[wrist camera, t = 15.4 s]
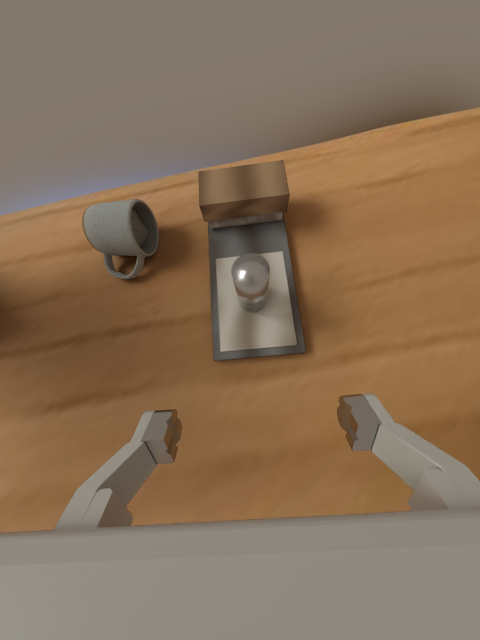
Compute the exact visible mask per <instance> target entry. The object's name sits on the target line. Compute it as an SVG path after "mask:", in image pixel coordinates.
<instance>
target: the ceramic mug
mask: <svg viewBox="0 0 480 640" xmlns="http://www.w3.org/2000/svg"><path fill="white" fill-rule="evenodd" d="M82 227H83V231H84V233H85V236H86V238H87V240H88V241H89V243H90V244H91V245H92V246H93V247H94V248H95V249H96V250H98V251H99V252H102V253H104V263H105V266H106V268H107V270H108V271H109V272H110V273H111V274H112V275H113V276H115V277H117V278H120V279H133V278H135V277H137V276H138V275H139V274H140V273H141V271H142V269H143V265H144V258H145V256H151V255H153V254H154V253H155V252H156V250H157V247H158V243H159V232H158V226H157V222H156V220H155V217H154V215H153V213H152V211H151V209H150V208H149V206H148V205H147V204H146V203H145V202H143V201H141V200H138V199H133V200H125V201H116V202H106V203H98V204H95V205H92V206H90V207H88V208H87V209H86V210H85V212H84V214H83V217H82ZM112 255H126V256H137V261H136V265H135V268H134V270H133V271H132V272H131V273H130V274H129V275H127V274H122V273H121V272H117V271H116V270H115V268H114V265H113V262H112Z"/></svg>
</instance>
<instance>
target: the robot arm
mask: <svg viewBox="0 0 480 640" xmlns="http://www.w3.org/2000/svg"><path fill="white" fill-rule="evenodd" d="M339 403H340V406H339V407H338V408H337V416H338V420H339V423H340V425H341V428H343V429H344V430H345V431H346V439H347V441H348V443H349V445H350V447H351V449H352V451H361V450H372V452H373V453H374V454H375V455H376V456H377V457H378V458H379V459H381V460H382V461H383V462H384V463H385V464H386V465H387V466H388V467H389V468H390V469H391V470H392V471H394V472H395V473H396V474H397V475H398V476H399V477H400V478H401V479H402V480H403V481H404V482H406V483H407V484H408V485H409V486H410V487H411V488H412V489H413V490H414V491H413V493H412V494H411V496H410V498H409V500H408V505H409V507H410V508H411V510H412V511H403V512H384V513H365V514H345V515H326V516H307V517H288V518H268V519H249V520H230V521H211V522H192V523H173V524H154V525H135V526H131V523H132V520H133V516H132V514H131V513H130V511H129V510H128V509H127V508H126V506H127V504H128V503H129V502H130V500H131V499H132V498H133V496H134V495H135V494H136V492H137V491H138V490H139V488H140V487H141V486H142V485H143V483H144V482H145V481H146V479H147V478H148V477H149V475H150V474H151V473H152V471H153V470H154V469H155V467H156V466H157V465H156V464H166V463H174V461H175V457H176V454H177V450H178V448H177V445H176V443H177V442H178V441H179V440H180V438H181V432H182V425H181V421H180V419H178V418H177V415H178V413H177V411H176V409H173V410H154V411H145V412H144V414H143V415H142V417H141V420H140V422H139V424H138V426H137V428H136V430H135V433H134V435H133V437H132V439H131V441H130V443H126V444H125V445H124V446H123V447H122V448H121V449H120V450H119V451H118V452H117V453H116V454H114V455H113V456H112V457H111V458H110V459H109V460H108V461H107V462H106V463H105V464H104V465H103V466H101V467H100V468H99V469H98V470H97V471H96V472H95V473H94V474H93V475H92V476H91V477H90V478H88V479H87V480H86V481H85V482H84V483H83V484H82V485H81V486H80V487H79V488H78V489H77V490H76V492H75V493H74V495H73V497H72V499H71V500H70V502H69V504H68V506H67V507H66V509H65V511H64V513H63V514H62V516H61V518H60V520H59V521H58V523H57V525H56V527H55V528H54V530H40V531H21V532H2V533H0V640H480V481H479V480H478V479H477V478H476V477H475V475H474V474H473V473H472V472H471V471H470V470H469V468H468V467H467V466H466V465H464V464H463V463H461V462H459V461H458V460H456V459H455V458H453V457H452V456H450V455H448V454H447V453H445V452H444V451H442V450H441V449H439V448H437V447H436V446H434V445H433V444H431V443H429V442H428V441H426V440H425V439H423V438H422V437H420V436H418V435H417V434H415V433H414V432H412V431H411V430H409V429H407V428H406V427H404V426H403V425H401V424H399V423H395V422H394V420H393V419H392V418H391V416H390V415H389V413H388V412H387V411H386V409H385V408H384V407H383V405H382V404H381V402H380V401H379V400H378V398H377V397H376V395H375V394H373V393H369V394H355V395H344V396H340V397H339Z"/></svg>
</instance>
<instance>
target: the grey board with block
mask: <svg viewBox="0 0 480 640" xmlns="http://www.w3.org/2000/svg"><path fill="white" fill-rule="evenodd" d="M288 200H289V188H288V183H287V177H286V172H285V166H284V161H283V160H281V161H273V162H266V163H259V164H252V165H244V166H237V167H230V168H223V169H215V170H208V171H201V172H199V206H200V209H201V212H202V215H203V218H204V221H205V222H207V221H208V235H209V259H210V284H211V309H212V333H213V358H214V361H222V360H233V359H245V358H256V357H268V356H279V355H291V354H303V353H305V352H306V350H305V344H304V338H303V332H302V326H301V320H300V314H299V307H298V301H297V295H296V289H295V283H294V277H293V271H292V265H291V259H290V253H289V247H288V241H287V235H286V229H285V223H284V217H283V212H287V206H288ZM248 253H255V254H259V255H261V256H263V257H264V258H265V259H266V260H267V262H268V263H269V266H270V275H269V284H268V294H267V302H266V305H265V306H264V308H263V309H261V310H260V311H258V312H247V311H245V310H243V309H242V308H241V306H240V305H239V302H238V298H237V294H236V290H235V286H234V282H233V277H232V273H231V269H232V265H233V263H234V261H235V260H236V259H237V258H238V257H240V256H242V255H244V254H248Z"/></svg>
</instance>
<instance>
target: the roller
mask: <svg viewBox="0 0 480 640" xmlns="http://www.w3.org/2000/svg"><path fill="white" fill-rule="evenodd" d="M231 273H232V277H233V282H234V286H235V290H236V294H237V298H238V302H239V305H240V306H241V308H242V309H243V310H245V311H247V312H258V311H260V310H261V309H263V308H264V306H265V305H266V302H267V294H268V284H269V275H270V266H269V263H268V262H267V260H266V259H265V258H264V257H263V256H261V255H259V254H255V253H248V254H244V255H242V256H240V257H238V258H237V259H236V260H235V261H234V263H233V265H232V269H231Z"/></svg>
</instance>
